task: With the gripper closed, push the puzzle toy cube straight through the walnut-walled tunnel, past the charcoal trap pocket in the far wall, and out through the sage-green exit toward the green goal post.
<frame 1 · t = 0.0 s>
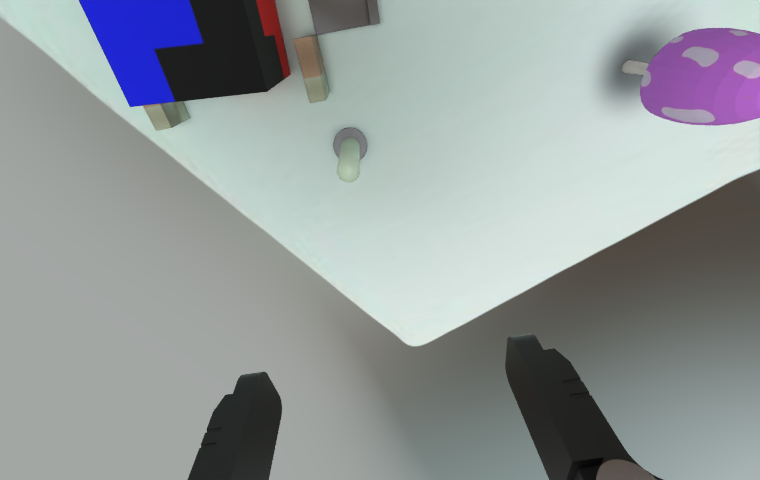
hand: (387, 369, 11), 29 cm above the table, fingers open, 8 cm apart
toy: (625, 66, 34), on the table
puzzle toy: (222, 18, 30), on the table
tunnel: (228, 38, 30), on the table
goal post: (350, 144, 36), on the table
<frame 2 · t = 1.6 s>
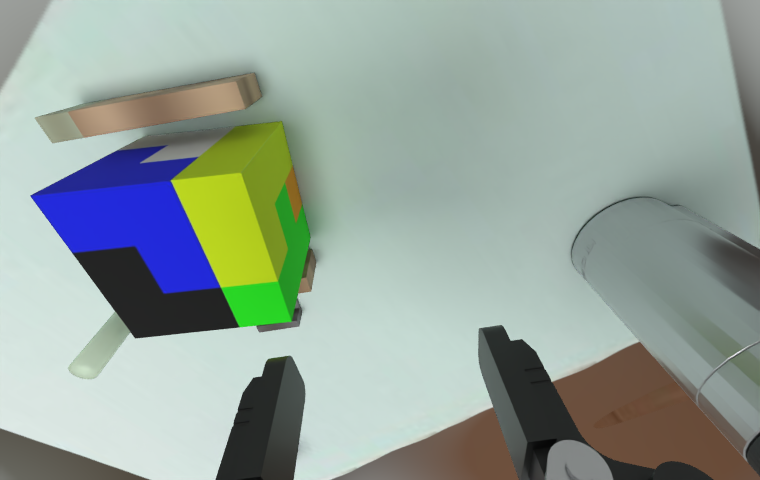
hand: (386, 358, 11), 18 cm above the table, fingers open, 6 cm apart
puzzle toy: (236, 190, 27), on the table
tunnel: (217, 195, 27), on the table
goal post: (141, 298, 32), on the table
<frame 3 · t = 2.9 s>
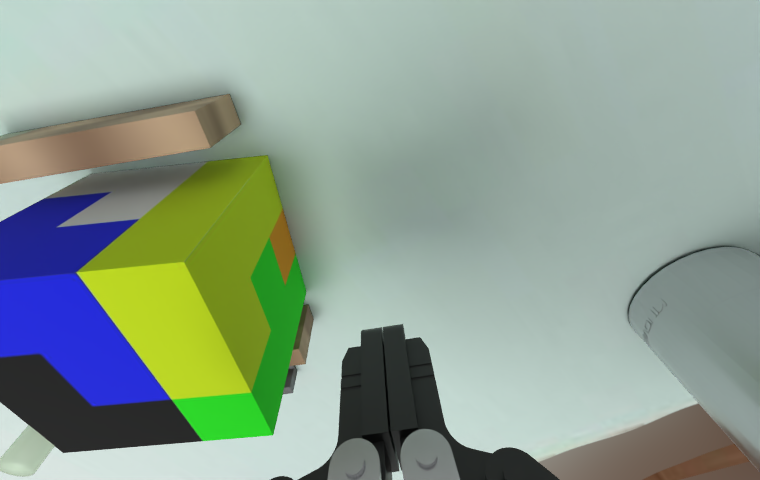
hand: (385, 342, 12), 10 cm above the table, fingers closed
puzzle toy: (213, 237, 21), on the table
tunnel: (188, 243, 21), on the table
goal post: (104, 357, 27), on the table
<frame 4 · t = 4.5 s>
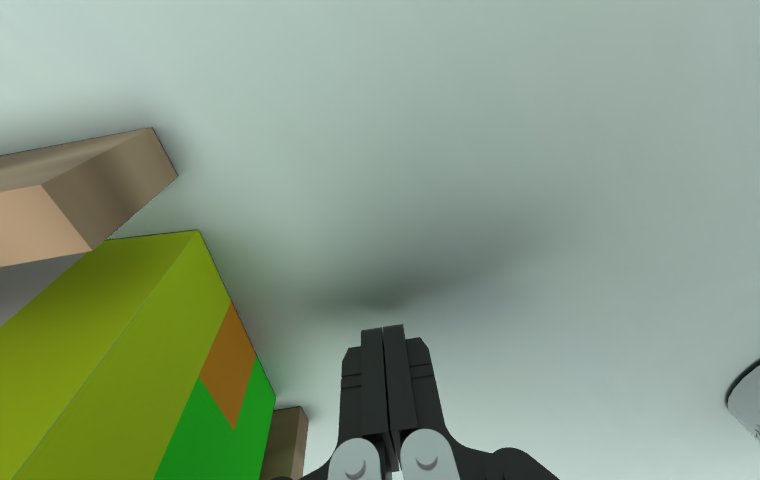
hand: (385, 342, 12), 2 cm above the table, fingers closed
puzzle toy: (129, 339, 14), on the table, touching hand
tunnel: (116, 344, 14), on the table
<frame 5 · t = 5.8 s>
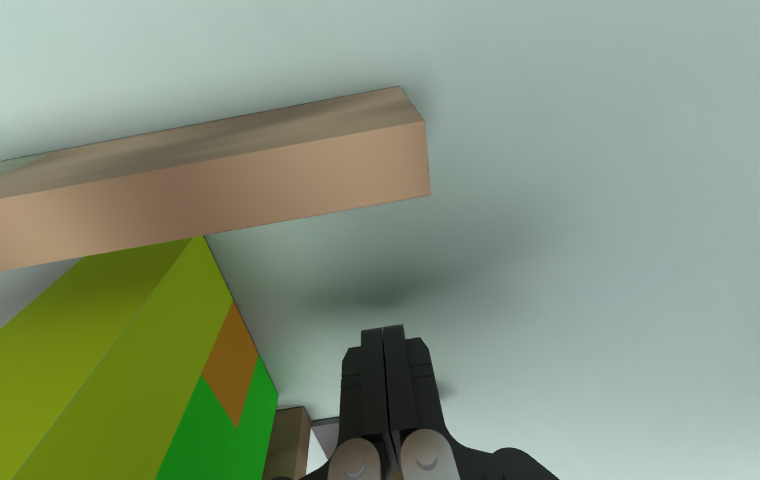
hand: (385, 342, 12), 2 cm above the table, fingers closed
puzzle toy: (132, 338, 14), on the table, touching hand
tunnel: (282, 318, 14), on the table
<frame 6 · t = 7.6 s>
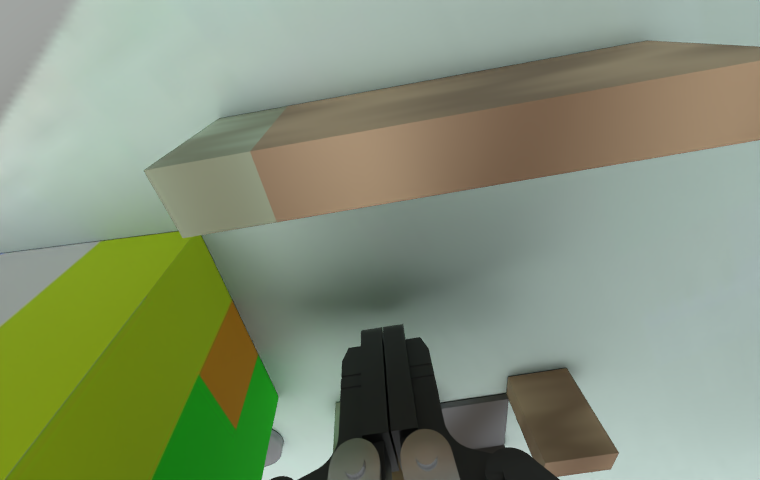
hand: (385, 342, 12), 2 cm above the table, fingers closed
puzzle toy: (132, 339, 14), on the table, touching hand
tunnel: (443, 292, 14), on the table
goal post: (250, 441, 19), on the table
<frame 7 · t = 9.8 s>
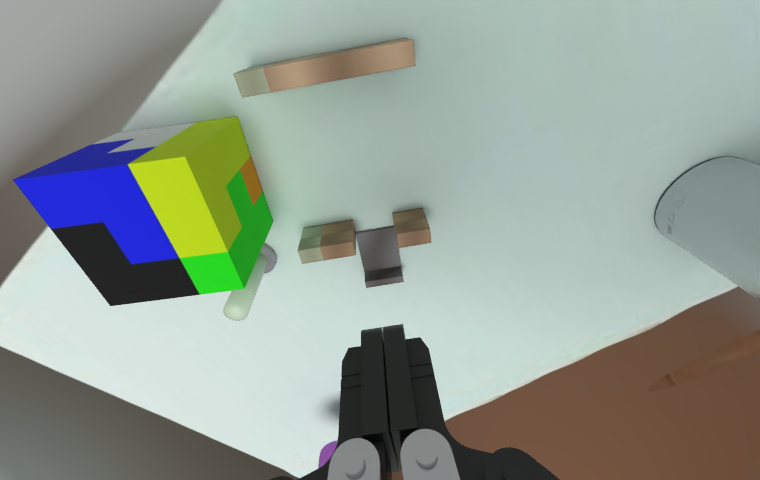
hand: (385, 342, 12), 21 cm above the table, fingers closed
toy: (346, 404, 51), on the table
puzzle toy: (203, 179, 30), on the table
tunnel: (349, 154, 29), on the table
goal post: (258, 256, 35), on the table
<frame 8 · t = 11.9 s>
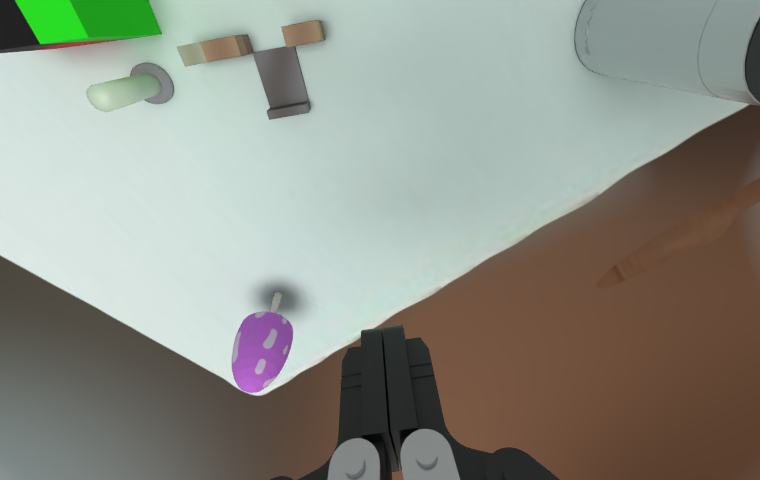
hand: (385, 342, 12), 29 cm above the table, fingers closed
toy: (278, 293, 49), on the table
goal post: (153, 83, 33), on the table
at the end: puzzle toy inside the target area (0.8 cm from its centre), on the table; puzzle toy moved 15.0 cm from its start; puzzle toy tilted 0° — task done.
